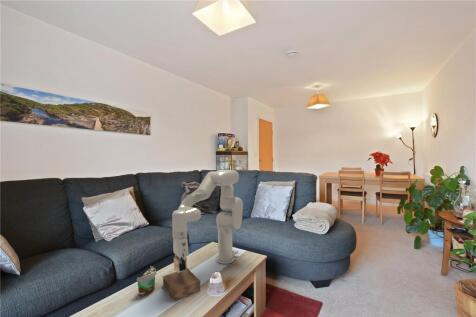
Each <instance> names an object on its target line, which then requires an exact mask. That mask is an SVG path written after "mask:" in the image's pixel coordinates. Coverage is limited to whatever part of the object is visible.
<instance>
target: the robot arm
mask: <svg viewBox="0 0 476 317" xmlns="http://www.w3.org/2000/svg"><path fill="white" fill-rule="evenodd" d="M239 180H240V174H239V172H238V171H237V170H233V169H232V170H230V169H218V170H216V171H209V172H207V173H206V175H205V177H204V178H203V180H202V181H201V183H200V185H199V186H198V187H197V189H196V190H195V191H192V192H191V193H190V194H188V195H187V196H185V198H184V199H183V200H182V202H181V203H180V205H179V206H178V208H177V209H176V210H174V211H173V212H172V214H171V215H172V216H171V218H172V219H171V220H172V221H171V223H172V224H171V225H172V239H173V240H172V241H173V245H172V246H173V247H172V248H173V250H172V251H173V254H174V258H175V257H179V258H180V263H179V269H180V271H183V270H185V269H186V260H188V257H189V243H188V242H189V241H188V223H196V222H198V221H199V220H200V219H201V217H202V212H201V210H200V209H199V208H196V207H193V206H194V205H195V204H196V203H199V202H200V201H204V200H207V199H208V198H210V197H211V195H212V193H213V191H214V190H215V188H216V187H217V186H219V187H220V199H219V207H220V209H221V210H222V211H221V212H219V213H218V214H217V215H216V217H215V218H216V219H215V223H216V227H217V248H218V249H217V255H216V257H215V261H216V262H217V263H219V264H223V265H227V264H230V263H233V262H235V259H236V257H235V256H236V255H238V254H239V250H235V249H233V230H238V229H240V228H241V227H242V226H241V225H242V220H243V211H244V210H243V209H244V203H243V200H242V198H240V197H237V196H234V194H235V192H234V191H235V189H234V184H236V183H238V181H239ZM182 255H183V256H182ZM181 256H182V257H181ZM181 258H183V259H181Z"/></svg>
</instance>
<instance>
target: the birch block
mask: <svg viewBox="0 0 476 317" xmlns="http://www.w3.org/2000/svg"><path fill="white" fill-rule="evenodd" d="M182 256H183V255H182ZM182 256H181V257H182ZM181 259H183V258H181ZM187 260H188V259H187ZM187 260H186V269H185V270H187V268H188V266H187V265H188V263H187V262H188V261H187ZM179 263H180V258H179V257H175V256H174V257H173V270H175V271H174V272H177V273H179V272H182V271H180V269H179ZM185 270H183V271H185Z"/></svg>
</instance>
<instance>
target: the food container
mask: <svg viewBox="0 0 476 317" xmlns="http://www.w3.org/2000/svg"><path fill="white" fill-rule="evenodd" d="M149 266H150V267H149V269H147V270H146V271H144V272H143V273H142V274H141V276H139V277H138V276H137V277H136V283H137V288H138V296H140V297H143V295H144V296H146V295H147V296H148V295H149V294H151V293H153V292H154V290H155V288H156V286H155V284H156V276H157V273H158V272H157V269H156V268H155V267H154V266H151V265H149Z"/></svg>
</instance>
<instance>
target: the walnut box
mask: <svg viewBox="0 0 476 317" xmlns="http://www.w3.org/2000/svg"><path fill="white" fill-rule="evenodd" d="M162 284H163V285H162V286H163V287H164V289H165V291H166V292H167V293H168V294H169V296H170V297H171V299H172V301H173V302H176V301H178V300H180V299H183V298H185V297H188V296H190V295H192V294H194V293H198V292H200V291H201V279H199V278H198V277H197V276H196V275H195V273H193V272H192V271H191V270H190V269H189V268H188V267H187V270H185V271H182V272H179V273H177V272H176V271H174V272H172V273H168V274H166V275H162Z"/></svg>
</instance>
